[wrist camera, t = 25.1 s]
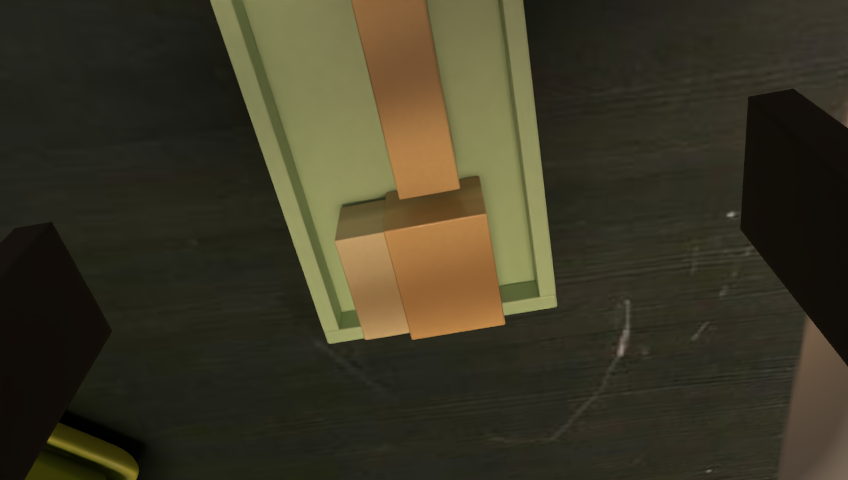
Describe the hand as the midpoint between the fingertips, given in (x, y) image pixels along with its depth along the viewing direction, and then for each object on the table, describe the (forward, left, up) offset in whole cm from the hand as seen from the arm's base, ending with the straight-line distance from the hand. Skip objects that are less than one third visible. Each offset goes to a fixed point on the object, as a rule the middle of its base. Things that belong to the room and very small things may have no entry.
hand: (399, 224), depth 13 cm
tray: (+1, +4, -17) cm, 18 cm away
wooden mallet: (+1, +4, -17) cm, 17 cm away
